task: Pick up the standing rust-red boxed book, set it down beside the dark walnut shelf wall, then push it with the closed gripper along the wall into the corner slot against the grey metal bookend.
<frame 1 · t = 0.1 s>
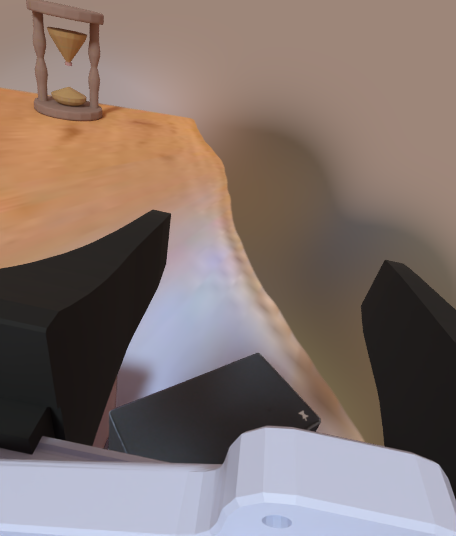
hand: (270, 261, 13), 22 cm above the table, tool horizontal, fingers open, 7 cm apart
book: (36, 437, 28), on the table
small box: (194, 510, 26), on the table
hourglass: (69, 113, 106), on the table
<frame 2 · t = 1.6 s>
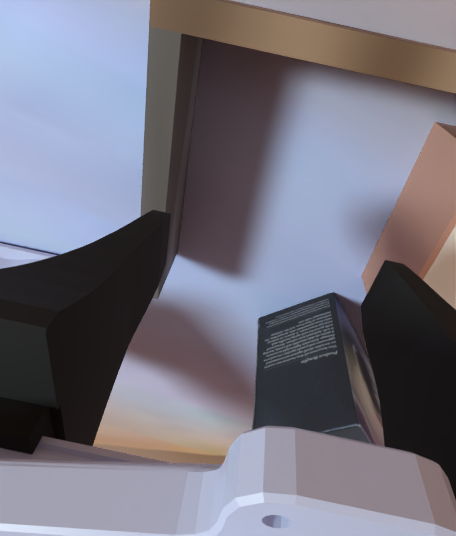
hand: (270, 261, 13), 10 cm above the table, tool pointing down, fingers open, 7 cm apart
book: (434, 216, 22), on the table
small box: (323, 348, 30), on the table
shelf: (304, 181, 22), on the table
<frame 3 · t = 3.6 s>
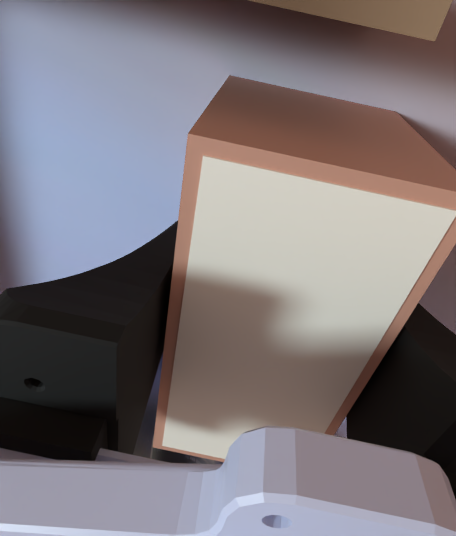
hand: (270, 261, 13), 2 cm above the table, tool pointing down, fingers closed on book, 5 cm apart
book: (271, 236, 14), on the table, touching gripper
small box: (174, 409, 21), on the table
shelf: (58, 178, 14), on the table
when the fingers open (3 cm above the table, at t = 6.6 s): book stays where it is, on the table.
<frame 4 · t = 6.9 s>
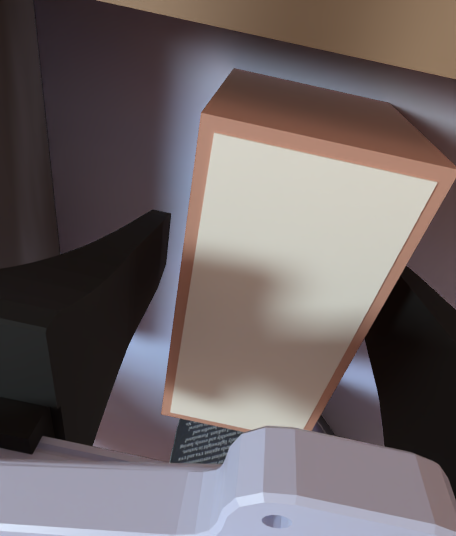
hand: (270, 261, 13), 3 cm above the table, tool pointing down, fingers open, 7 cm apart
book: (272, 221, 15), on the table
small box: (275, 420, 23), on the table
shelf: (222, 213, 15), on the table
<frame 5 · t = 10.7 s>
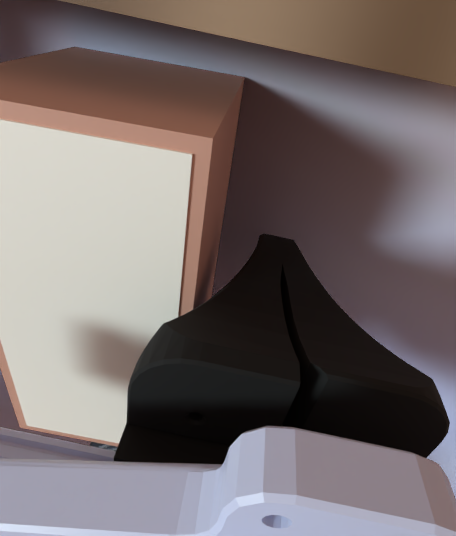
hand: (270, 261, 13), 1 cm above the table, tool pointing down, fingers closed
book: (154, 214, 14), on the table, touching gripper
shelf: (116, 207, 14), on the table
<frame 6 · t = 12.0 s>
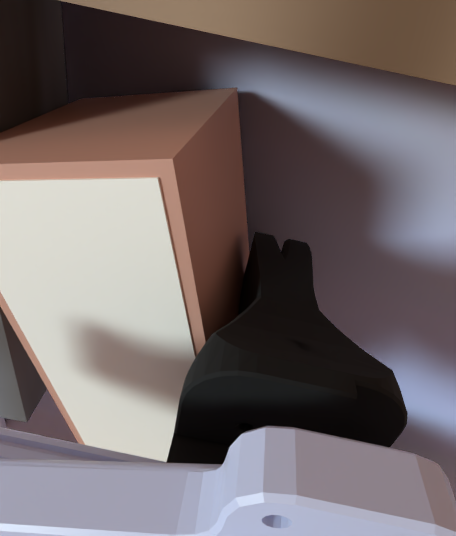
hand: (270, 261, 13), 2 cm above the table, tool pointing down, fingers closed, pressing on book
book: (182, 237, 14), on the table, tilted 5°, touching gripper, shelf
shelf: (255, 234, 14), on the table
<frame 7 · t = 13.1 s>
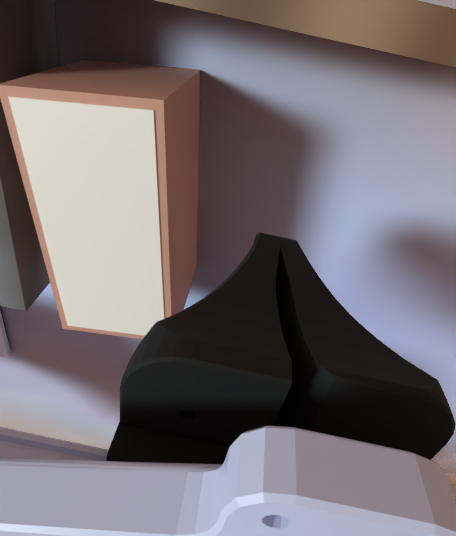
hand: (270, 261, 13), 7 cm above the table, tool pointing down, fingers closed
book: (149, 177, 19), on the table
shelf: (204, 169, 18), on the table
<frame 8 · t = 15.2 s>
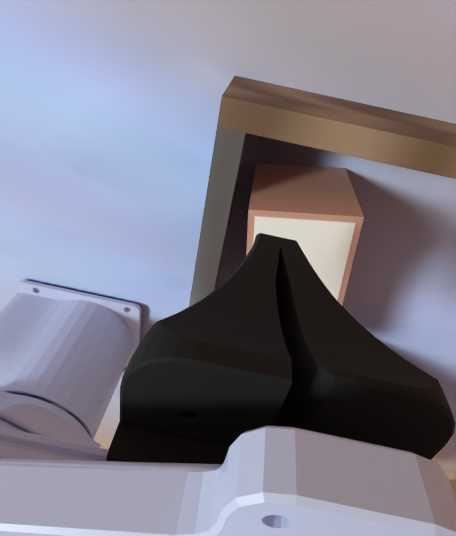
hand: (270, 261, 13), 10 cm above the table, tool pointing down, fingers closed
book: (290, 240, 24), on the table
shelf: (337, 236, 23), on the table
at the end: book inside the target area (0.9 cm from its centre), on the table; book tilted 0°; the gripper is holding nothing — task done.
